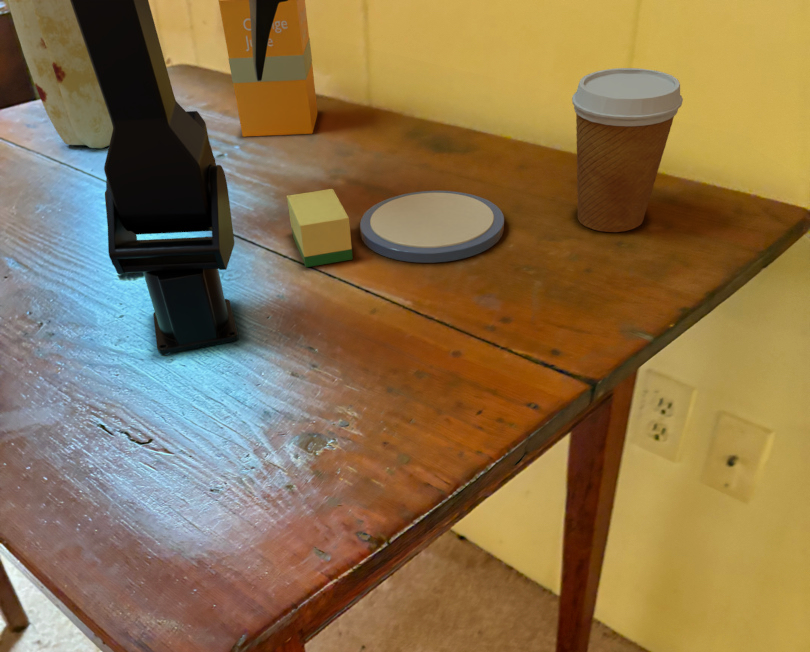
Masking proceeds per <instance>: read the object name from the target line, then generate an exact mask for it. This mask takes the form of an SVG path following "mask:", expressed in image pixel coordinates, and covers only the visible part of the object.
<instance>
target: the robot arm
mask: <svg viewBox="0 0 810 652" xmlns="http://www.w3.org/2000/svg"><path fill="white" fill-rule="evenodd" d="M285 1H288V0H249V6H250V19H251V36H252V53H253V63H254V69H255V75H256V79H257V81H261V80H262V75H263V69H264V63H265V57H266V51H267V45H268V40H269V35H270V31H271V27H272V24H273V21H274V17H275V14H276V10H277V7H278V4H279V3H280V2H285ZM70 2H71V5H72V7H73V10H74V13H75V16H76V19H77V22H78V25H79V28H80V31H81V34H82V37H83V40H84V43H85V45H86V48H87V51H88V54H89V57H90V60H91V63H92V66H93V69H94V72H95V75H96V78H97V80H98V83H99V86H100V89H101V92H102V95H103V98H104V101H105V104H106V107H107V110H108V113H109V116H110V119H111V122H112V125H113V132H112V136H111V140H110V145H109V146H108V149H107V154H106V158H105V162H104V166H103V170H104V174H105V177H106V180H105V182H106V183H105V186H106V187H105V189H106V190H105V191H104V201H105V213H106V224H107V248H108V249H107V251H108V252H107V253H108V256H109V259H110V261H111V264H112V266H113V268H114V269H115V271H116V273H117V275H126V274H132V273H135V274H136V273H137V274H138V273H142V274H143V276H144V280H145V283H146V287H147V290H148V293H149V296H150V297H149V298H150V300H151V304H152V307H153V310H154V312H153V314H152V315H153V323H154V332H155V333H154V334H155V342H156V349H157V352H158V354H160V355H167V354H172V353H177V352H183V351H188V350H193V349H198V348H204V347H210V346H216V345H220V344H226V343H231V342H235V341H237V340H239V338H240V336H239V332H238V328H237V324H236V321H235V317H234V313H233V312H234V311H233V309H232V304H231V301H230V299H227V298H225V294H224V290H223V285H222V280H221V276H220V272H219V270H220V271H224V270H225V271H226V270H227V269H228V266H229V262H230V259H231V256H232V253H233V250H234V247H235V236H234V235H235V234H234V227H233V219H232V211H231V203H230V194H229V188H228V183H227V177H226V173H225V170H224V168H223V166H222V165H221V164H217V162H216V158H215V156H214V153H213V149H212V146H211V142H210V138H209V133H208V128H207V124H206V121H205V119H203V117H202V115H201V114H200V112H199V111H197V110H190V111H189V110H188V111H186V109H184V108H183V107H182V105H180V104H179V103H178V102H177V100H176V97H175V94H174V90H173V86H172V83H171V79H170V75H169V72H168V68H167V65H166V61H165V57H164V53H163V50H162V47H161V42H160V38H159V35H158V32H157V27H156V24H155V19H154V17H153V13H152V10H151V6H150V2H149V0H70ZM198 232H199V233H201V232H202V233H203V232H211V236H198V237H197V236H196V237H195V236H194V237H176V238H156V239H155V238H152V239H138V236H139V235H155V234H156V235H158V234H178V233H198Z"/></svg>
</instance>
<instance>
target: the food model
mask: <svg viewBox="0 0 810 652" xmlns="http://www.w3.org/2000/svg"><path fill="white" fill-rule="evenodd" d="M7 4H8V6H9V10H10V15H11V19H12V21H13V24H14V28H15V31H16V34H17V37H18V40H19V44H20V46H21V50H22V53H23V56H24V59H25V62H26V64H27V67H28V70H29V73H30V75H31V78H32V81H33V84H34V86H35V88H36V91H37V94H38V96H39V98H40V101H41V103H42V106H43V108H44V110H45V112H46V114H47V116H48V118H49V121H50V122H51V124H52V126H53V128H54V129H55V131H56V133H57V134H58V135H59V137H60V139H61V141H62V142H63V143H64V144H65V145H69V146H87V147H88V148H90V149H104V148H106V147H109V145H110V140H111V136H112V132H113V125H112V122H111V119H110V116H109V113H108V110H107V107H106V104H105V101H104V98H103V95H102V92H101V89H100V86H99V83H98V80H97V78H96V75H95V72H94V69H93V66H92V63H91V60H90V57H89V54H88V51H87V48H86V45H85V43H84V40H83V37H82V34H81V31H80V28H79V25H78V22H77V19H76V16H75V13H74V10H73V7H72V5H71V2H70V0H7Z"/></svg>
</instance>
